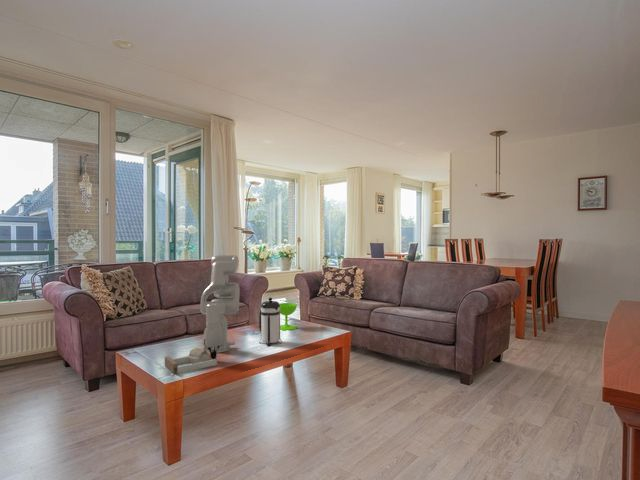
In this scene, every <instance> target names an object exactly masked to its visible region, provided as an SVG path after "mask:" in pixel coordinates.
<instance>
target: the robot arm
mask: <svg viewBox="0 0 640 480" xmlns="http://www.w3.org/2000/svg"><path fill="white" fill-rule="evenodd" d="M239 260H240V259H239V257H238V256H237V255H232V254H230V255H229V254H228V255H225V254H222V255H221V254H218V255H214V256H212V257H211V259H210V263H211V264H210V265H211V275H210V283H209V285H208V286H207V287H206V288H205V289H204V291H203V292H202V295H201V296H200V305H199V311H200V313H201V314H202V315H205V318H206V319H205V320H206V322H205V323H206V324H205V325H206V328H204V331H203V338H202V345H203V349H205V350H206V351H208V352H210V353H209V355H210V359H211V360H214V359H217V356H218V355H217V353H218V354H219V353H225V352H228V351H230V350H231V346H234V345H236V342H235V341H228V320H227V318H226V316H225V315H235V314H237V313H238V312H239V308H240V292H241V291H240V290H241V289H240V285H239V284H238V283H237V282H229V278H230V277H229V276H230V275H232V276H233V275H235V274H236V273H237V270H238V266H239ZM212 294H213V296H214V297H215V298H214V299H212V300H208V298H209V296H210V295H212Z"/></svg>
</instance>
